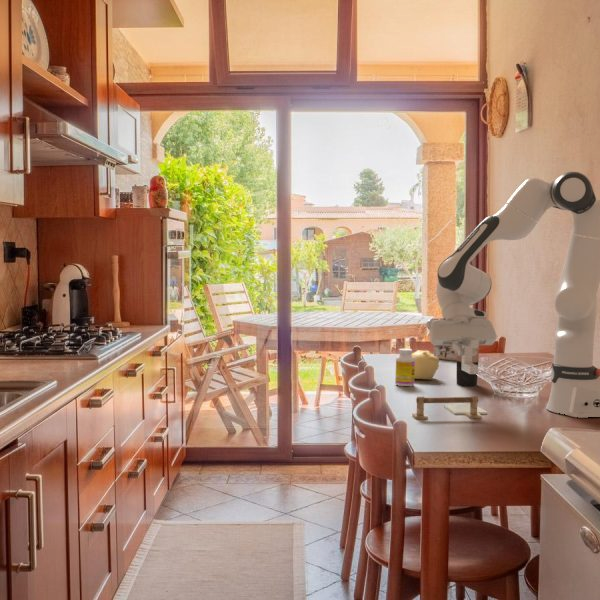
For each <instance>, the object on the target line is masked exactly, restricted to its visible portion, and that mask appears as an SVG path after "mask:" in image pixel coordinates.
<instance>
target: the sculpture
mask: <svg viewBox="0 0 600 600" xmlns="http://www.w3.org/2000/svg"><path fill="white" fill-rule="evenodd" d="M412 357H414V358H415V374H414V380H429V381H430V380H432V379H433V377H434V376H435V374H436V372H437V371H438V369H439V367H440V366H439V364H440V359H438V358H437V357H436V356H434V354H432V352H431V351H429V350H422V349H420V350H419V349H418V350H416V351H415V352H412Z"/></svg>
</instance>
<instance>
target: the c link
mask: <svg viewBox="0 0 600 600" xmlns="http://www.w3.org/2000/svg"><path fill="white" fill-rule="evenodd" d="M462 348H463V349H464V356H462V366H461V370H463V371H465V372H467V373H469V374H478V375H479V365H478V366H477V365H475V364H473V363H472V350H473V348H479V349H480V345H479V340H477V339H474V338H472V337H462Z"/></svg>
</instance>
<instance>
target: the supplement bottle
mask: <svg viewBox="0 0 600 600" xmlns="http://www.w3.org/2000/svg"><path fill="white" fill-rule="evenodd" d="M412 353H413V349H412V348H399V349H398V354H399V355H397V357H396V358H395V379H394V380H395V382H394V383H395V385H396V386H397V385H398V386H399V387H403V386H410V387H413V386H414V385H415V379H414V374H415V358H414V357H412ZM398 386H397V387H398Z"/></svg>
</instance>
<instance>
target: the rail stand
mask: <svg viewBox="0 0 600 600" xmlns="http://www.w3.org/2000/svg"><path fill="white" fill-rule="evenodd" d="M415 401H416V413H413V412H412V414H411V415H412V417H413V419H414V420H428V419H429V415H427V414H426V413H425V412H424V411H425V409H424V408H425V407H424V406H425V404H461V403H462V404H463V403H465V404H469V405H470V413H465V414H464V416H466V417H467V418H468V419H482V417H483V414H479V413H477V406H478V403H479V397H478V396H477V395H471V396H464V397H463V396H460V397H459V396H458V397H457V396H455V397H454V396H452V397H451V396H450V397H425V396H421V395H420V396H417V397H416V398H415Z"/></svg>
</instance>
